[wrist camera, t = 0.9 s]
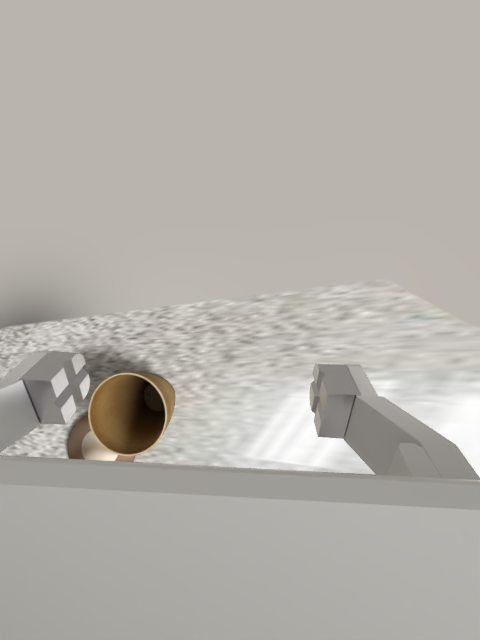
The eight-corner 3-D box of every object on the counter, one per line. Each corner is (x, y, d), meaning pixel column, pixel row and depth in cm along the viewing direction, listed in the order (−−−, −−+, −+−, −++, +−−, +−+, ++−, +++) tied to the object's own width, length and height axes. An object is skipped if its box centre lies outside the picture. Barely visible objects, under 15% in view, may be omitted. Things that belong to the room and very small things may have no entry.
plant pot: (132, 360, 70) (92, 367, 54) (193, 367, 68) (171, 378, 53) (124, 423, 69) (82, 450, 53) (186, 432, 68) (161, 462, 52)
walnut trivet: (147, 463, 68) (144, 466, 67) (87, 490, 69) (83, 494, 68) (120, 399, 70) (116, 401, 68) (61, 427, 71) (57, 429, 69)
